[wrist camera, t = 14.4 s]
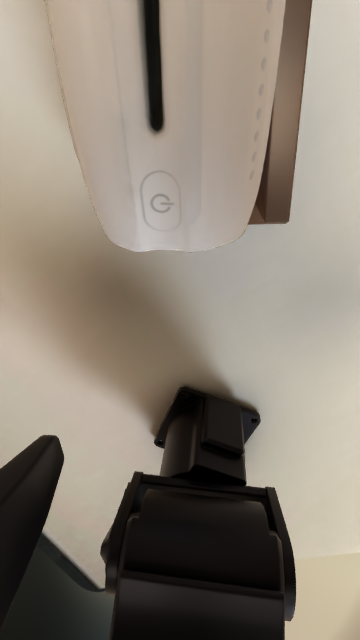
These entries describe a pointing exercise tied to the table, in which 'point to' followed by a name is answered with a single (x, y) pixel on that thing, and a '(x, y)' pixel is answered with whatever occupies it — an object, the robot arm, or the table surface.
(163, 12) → the photo printer
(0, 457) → the table surface
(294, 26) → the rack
